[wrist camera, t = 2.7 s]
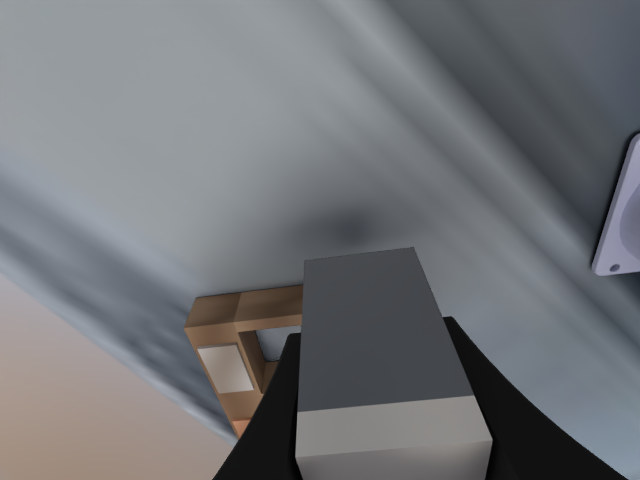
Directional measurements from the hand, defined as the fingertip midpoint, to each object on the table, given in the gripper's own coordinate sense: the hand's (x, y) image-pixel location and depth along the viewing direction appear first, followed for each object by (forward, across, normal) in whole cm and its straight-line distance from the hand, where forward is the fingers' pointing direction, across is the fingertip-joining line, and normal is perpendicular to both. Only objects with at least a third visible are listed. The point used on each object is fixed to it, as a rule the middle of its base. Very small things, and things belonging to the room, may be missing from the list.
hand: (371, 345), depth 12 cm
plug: (+3, 0, 0) cm, 3 cm away
